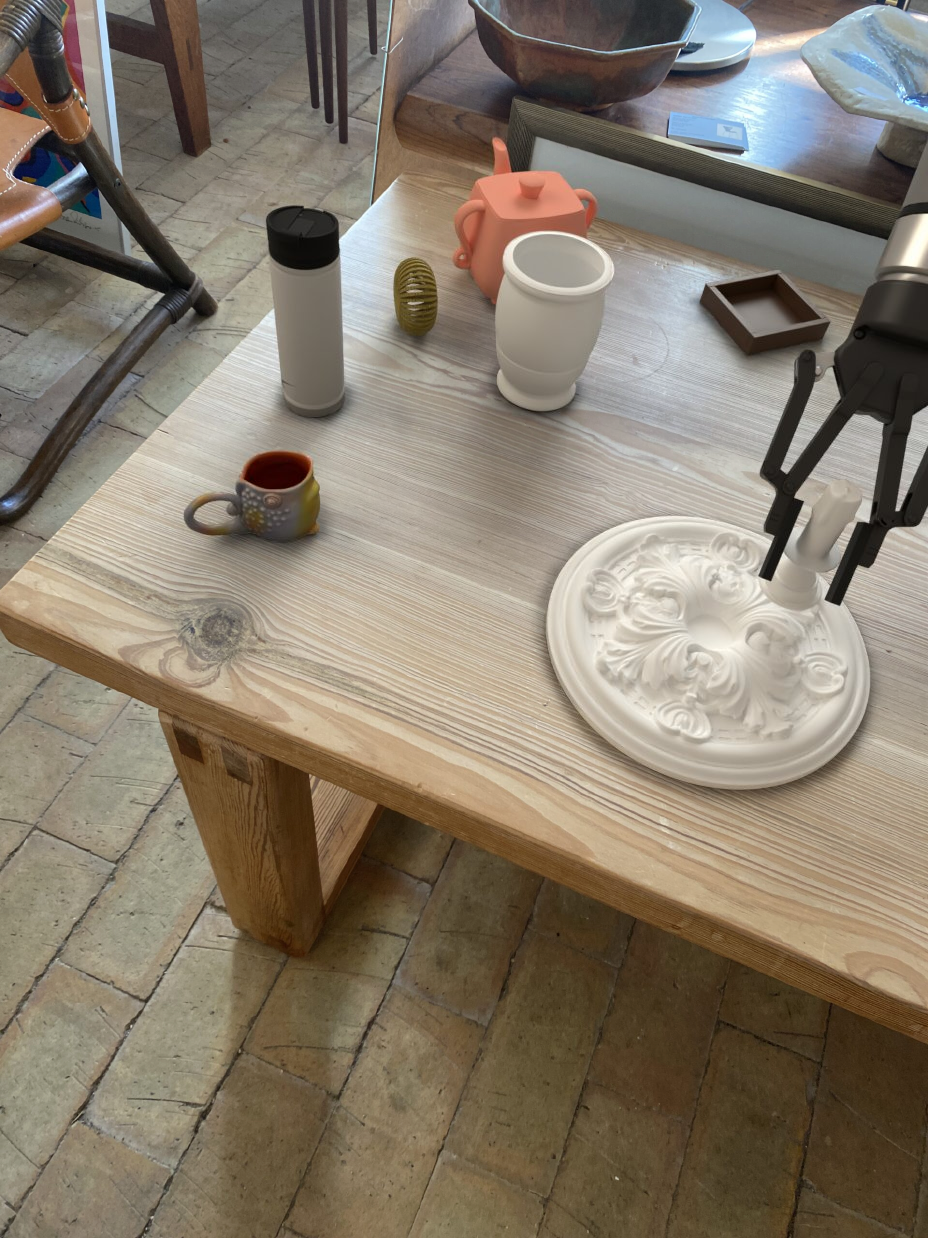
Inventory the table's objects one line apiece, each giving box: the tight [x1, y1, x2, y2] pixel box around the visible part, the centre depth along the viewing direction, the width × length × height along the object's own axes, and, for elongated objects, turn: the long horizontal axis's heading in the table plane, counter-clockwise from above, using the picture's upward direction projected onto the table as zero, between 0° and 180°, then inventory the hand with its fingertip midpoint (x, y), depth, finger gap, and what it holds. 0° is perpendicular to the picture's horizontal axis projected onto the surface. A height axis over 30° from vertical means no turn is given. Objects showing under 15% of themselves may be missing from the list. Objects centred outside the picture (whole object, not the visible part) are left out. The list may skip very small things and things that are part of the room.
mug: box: [183, 449, 321, 543], centre depth 80 cm, size 12×7×7 cm, turn 113°
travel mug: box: [265, 204, 346, 418], centre depth 85 cm, size 6×7×20 cm
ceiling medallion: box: [545, 515, 871, 791], centre depth 78 cm, size 28×28×3 cm
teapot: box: [452, 137, 599, 306], centre depth 103 cm, size 15×17×13 cm
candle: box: [758, 478, 863, 611], centre depth 71 cm, size 5×5×12 cm
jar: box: [494, 231, 615, 412], centre depth 91 cm, size 11×10×15 cm
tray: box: [699, 269, 832, 357], centre depth 107 cm, size 11×11×2 cm
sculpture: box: [392, 256, 439, 337], centre depth 98 cm, size 8×4×8 cm, turn 13°
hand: (798, 590), depth 71 cm, fingers closed on candle, 5 cm apart
